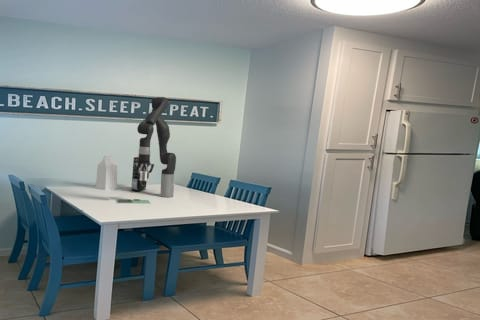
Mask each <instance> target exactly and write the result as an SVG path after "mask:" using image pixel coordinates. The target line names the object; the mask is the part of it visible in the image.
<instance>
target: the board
mask: <svg viewBox="0 0 480 320" xmlns="http://www.w3.org/2000/svg"><path fill="white" fill-rule="evenodd" d="M115 202H116V204H142V205H143V204H144V205H145V204H147V205H148V204H151V202H150V200H149V199H139V198H138V199H137V198H134V199H128V198H126V199H125V198H122V199H121V198H119V199H115Z"/></svg>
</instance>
